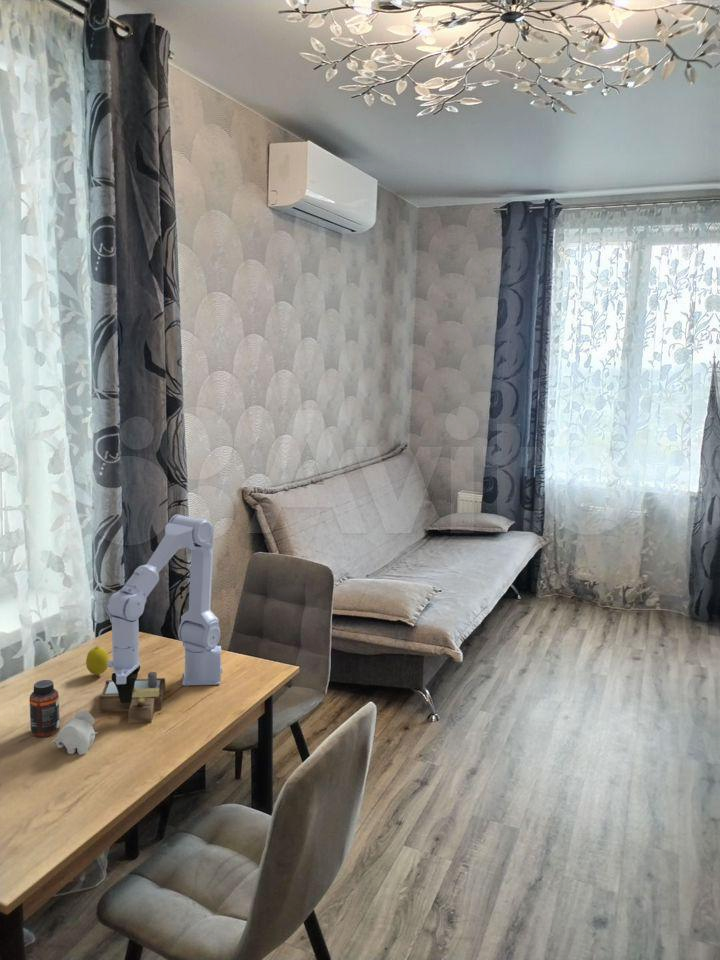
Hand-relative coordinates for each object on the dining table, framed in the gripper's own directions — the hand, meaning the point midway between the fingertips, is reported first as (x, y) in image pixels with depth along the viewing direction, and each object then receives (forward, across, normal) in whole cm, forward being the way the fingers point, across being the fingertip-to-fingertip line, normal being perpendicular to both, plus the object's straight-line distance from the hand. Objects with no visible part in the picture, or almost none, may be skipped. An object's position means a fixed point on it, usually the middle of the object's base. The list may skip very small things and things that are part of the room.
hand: (126, 699), depth 169 cm
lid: (+1, -9, 0) cm, 9 cm away
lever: (+1, 0, +3) cm, 3 cm away
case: (+4, -6, 0) cm, 7 cm away
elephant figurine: (+5, +12, -9) cm, 16 cm away
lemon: (+5, -24, -11) cm, 26 cm away
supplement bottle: (+5, +4, -17) cm, 18 cm away
